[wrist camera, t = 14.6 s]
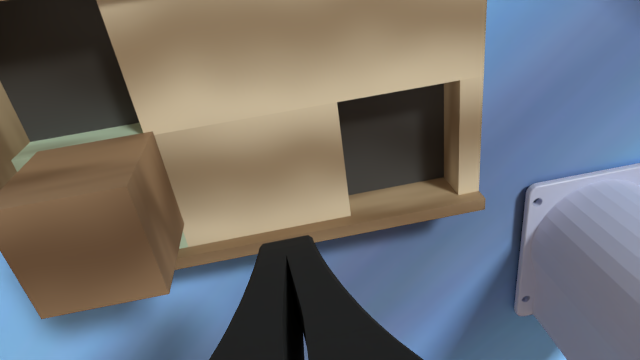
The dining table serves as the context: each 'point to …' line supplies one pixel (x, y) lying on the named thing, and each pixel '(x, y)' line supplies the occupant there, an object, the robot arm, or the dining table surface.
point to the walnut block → (91, 225)
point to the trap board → (260, 107)
